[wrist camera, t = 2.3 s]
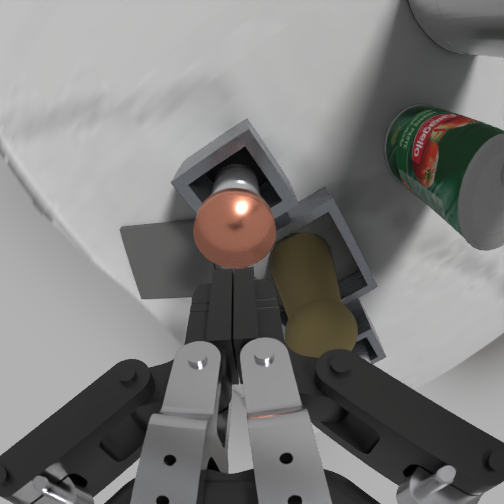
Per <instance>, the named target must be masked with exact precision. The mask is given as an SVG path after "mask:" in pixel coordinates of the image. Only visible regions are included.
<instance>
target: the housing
mask: <svg viewBox="0 0 504 504" xmlns="http://www.w3.org/2000/svg"><path fill="white" fill-rule="evenodd" d="M243 147H246V148H247V150H248V151H249V153H250V154H251V155H252V157H253V158H254V160H255V161H256V163H257V164H258V166H259V167H260V168H261V170H262V171H263V173H264V174H265V176H266V177H267V179H268V180H269V181H267V182H266V183H264V184H262V185H261V186H259V193H260V196H261V197H262V198H263V199H264V200H265V201H266V202H267V204H268V205H269V207H270V208H271V211H272V213H273V217H274V222H275V226H276V237H275V241H274V243H275V242H277V241H278V240H280V239H282V238H284V237H285V236H287V235H289V234H291V233H292V232H294V231H296V230H297V229H299V228H301V227H303V226H304V225H306V224H308V223H310V222H311V221H313V220H315V219H317V218H318V217H320V216H322V215H324V214H325V213H327V212H329V214H330V215H331V217H332V219H333V221H334V223H335V224H336V226H337V228H338V230H339V232H340V233H341V235H342V237H343V239H344V241H345V243H346V245H347V246H348V248H349V250H350V252H351V254H352V256H353V258H354V260H355V262H356V264H357V266H358V267H359V269H360V270H359V271H357V272H356V273H354V274H352V275H350V276H348V277H346V278H345V279H343V280H341V281H339V282H338V287H339V292H340V297H341V302H342V304H344V305H345V306H346V307H347V308H348V309H349V310H350V312H351V313H352V314H353V315H354V318H355V320H356V323H357V328H358V336H357V340H356V342H357V341H359V340H361V339H362V340H363V342H364V345H365V347H366V350H367V353H368V355H369V358H370V361H371V364H374V363H376V362H378V361H380V360H382V359H384V358H386V355H385V353H384V350H383V348H382V345H381V343H380V341H379V338H378V336H377V334H376V331H375V329H374V327H373V325H372V323H371V321H370V319H369V317H368V315H367V313H366V311H365V309H364V307H363V306H362V304H361V302H360V300H359V298H358V297H360V296H362V295H364V294H365V293H367V292H369V291H371V290H373V289H375V288H376V287H378V286H377V284H376V282H375V280H374V278H373V276H372V274H371V271H370V269H369V267H368V265H367V263H366V261H365V259H364V257H363V255H362V253H361V251H360V249H359V247H358V245H357V243H356V241H355V239H354V237H353V235H352V233H351V231H350V229H349V227H348V225H347V223H346V221H345V220H344V218H343V216H342V214H341V212H340V210H339V208H338V207H337V205H336V203H335V201H334V199H333V198H332V196H331V195H330V193H329V192H328V190H327V189H326V188H325V187H324V188H322V189H321V190H319V191H317V192H315V193H314V194H312V195H310V196H309V197H307V198H305V199H303V200H302V201H300V202H298V201H297V198H296V196H295V194H294V192H293V189H292V187H291V185H290V183H289V180H288V179H287V177H286V175H285V174H284V172H283V171H282V169H281V168H280V166H279V165H278V163H277V162H276V160H275V159H274V157H273V156H272V154H271V153H270V151H269V150H268V148H267V147H266V145H265V144H264V142H263V141H262V139H261V138H260V136H259V135H258V134H257V132H256V131H255V129H254V128H253V126H252V125H251V123H250V122H249V121H248V119H245V120H244V121H242V122H241V123H239V124H238V125H236V126H234V127H233V128H231V129H230V130H228V131H227V132H225V133H224V134H222V135H221V136H219V137H218V138H216V139H215V140H214V141H212V142H211V143H209V144H208V145H206V146H205V147H203V148H202V149H201V150H199V151H198V152H196V153H195V154H194V155H192V156H191V157H189V158H188V159H187V160H185V161H184V162H183V163H182V165H181V167H180V168H179V170H178V171H177V173H176V175H175V176H174V178H173V180H172V181H171V184H172V185H173V186H174V187H175V189H176V190H177V191H178V192H179V193H180V195H181V196H182V197H183V198H184V199H185V201H186V202H187V203H188V204H189V206H190V207H191V208H192V209H193V210H194V212H195V213H196V214H197V212H198V210H199V208H200V206H201V204H202V203H203V202H204V201H205V200H206V199H207V198H208V197H209V196H210V195H211V193H212V189H213V183H212V182H211V181H210V179H209V178H208V177H207V175H206V174H205V173H206V172H207V171H209V170H210V169H212V168H213V167H215V166H216V165H218V164H219V163H221V162H222V161H224V160H225V159H227V158H228V157H230V156H231V155H233V154H234V153H236V152H237V151H239V150H240V149H242V148H243ZM221 267H222V268H223V269H229V268H228V267H223V266H221ZM233 272H234V268H233ZM254 280H257V279H256V278H255V277H254ZM279 311H280V317H281V323H282V330H283V335H284V334H285V328H286V324H287V321H288V316H287V314H286V311H285V310H282V309H281V308H280V306H279Z"/></svg>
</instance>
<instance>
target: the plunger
mask: <svg viewBox="0 0 504 504" xmlns="http://www.w3.org/2000/svg"><path fill="white" fill-rule="evenodd" d="M193 235H194V240H195V243H196V246H197V248H198V249H199V251H200V252H201V253H202V254H203V255H204V256H205V257H206V258H207V259H208V260H209V261H211V262H213V263H215V264H217V265H220V266H223V267H228V268H241V267H247V266H250V265H253V264H255V263H257V262H258V261H260V260H261V259H263V258H264V257H265V256H266V255H267V254H268V253H269V251H270V250H271V248H272V246H273V244H274V241H275V237H276V226H275V222H274V217H273V213H272V211H271V208H270V207H269V205H268V204H267V202H266V201H265V200H264V199H263V198H262V197H261V196H260V193H259V187H258V181H257V177H256V175H255V173H254V172H253V171H252V170H251V169H250V168H248V167H247V166H245V165H241V164H231V165H227V166H225V167H223V168H222V169H221V170H220V171H219V172H218V173H217V175H216V177H215V180H214V184H213V189H212V193H211V195H210V196H209V197H208V198H207V199H206V200H205V201H204V202H203V203H202V204H201V206H200V208H199V210H198V212H197V216H196V219H195V223H194V228H193Z"/></svg>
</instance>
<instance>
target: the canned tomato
mask: <svg viewBox="0 0 504 504" xmlns="http://www.w3.org/2000/svg"><path fill="white" fill-rule="evenodd" d="M384 155H385V161H386V164H387V166H388V169H389V171H390V172H391V174H392V175H393V177H394V178H395V179H396V180H397V181H398V182H400V183H401V184H403V185H404V186H405V187H406V188H408V189H409V190H410V191H411V192H413V193H414V194H415V195H416V196H417V197H419V198H420V199H421V200H422V201H424V202H425V203H426V204H427V205H428V206H430V208H431V209H433V210H434V211H435V212H436V213H437V214H439V215H440V216H441V217H442V218H443V219H444V220H445V221H447V223H448V224H450V225H451V226H452V227H453V228H454V229H455V230H456V231H457V232H459V233H460V234H461V235H462V236H463V237H464V238H465V239H466V241H467V242H468V243H469V244H470V245H471V246H473V247H474V248H476V249H479V250H492V249H496V248H498V247H500V246H502V245H504V131H503V130H501V129H499V128H496V127H493V126H491V125H488V124H485V123H483V122H479V121H477V120H474V119H471V118H468V117H465V116H462V115H459V114H456V113H452V112H449V111H446V110H442V109H439V108H435V107H432V106H429V105H422V104H418V105H412V106H410V107H407V108H405V109H404V110H402V111H401V112H400V113H398V114H397V116H396V117H395V118H394V119H393V120H392V122H391V124H390V125H389V127H388V130H387V133H386V136H385V142H384Z"/></svg>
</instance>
